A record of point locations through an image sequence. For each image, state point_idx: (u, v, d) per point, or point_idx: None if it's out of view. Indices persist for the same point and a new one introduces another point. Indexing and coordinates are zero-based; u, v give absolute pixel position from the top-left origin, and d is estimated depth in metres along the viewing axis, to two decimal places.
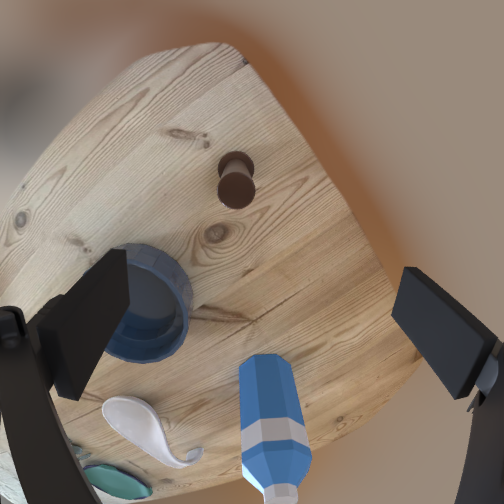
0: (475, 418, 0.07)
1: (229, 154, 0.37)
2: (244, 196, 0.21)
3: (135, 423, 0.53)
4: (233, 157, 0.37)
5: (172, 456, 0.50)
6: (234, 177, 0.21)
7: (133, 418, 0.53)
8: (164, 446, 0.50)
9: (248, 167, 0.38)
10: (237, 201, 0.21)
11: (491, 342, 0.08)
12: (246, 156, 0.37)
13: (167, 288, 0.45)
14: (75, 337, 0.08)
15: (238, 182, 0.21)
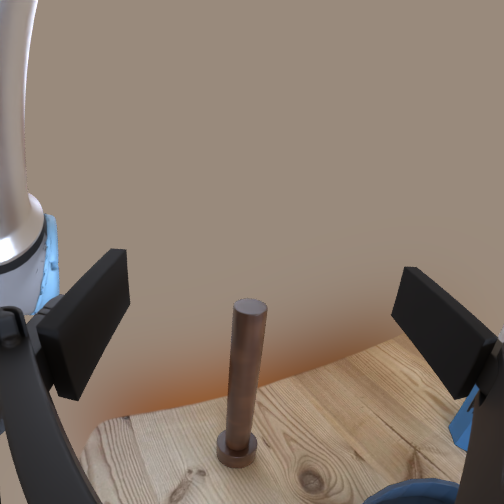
0: (475, 419, 0.07)
1: (219, 443, 0.29)
2: (256, 303, 0.25)
3: None
4: (223, 441, 0.30)
5: None
6: (238, 304, 0.24)
7: None
8: None
9: None
10: (260, 306, 0.24)
11: (491, 342, 0.08)
12: (225, 431, 0.31)
13: None
14: (75, 338, 0.08)
15: (243, 303, 0.24)
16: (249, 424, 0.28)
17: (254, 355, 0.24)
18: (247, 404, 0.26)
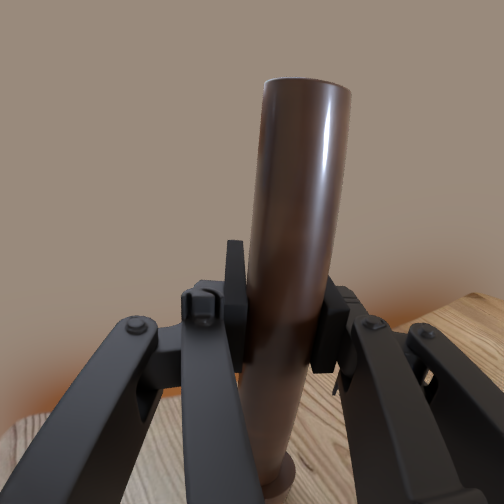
0: (345, 407, 0.08)
1: None
2: None
3: None
4: None
5: None
6: None
7: None
8: None
9: None
10: None
11: (341, 313, 0.10)
12: None
13: None
14: None
15: None
16: (287, 434, 0.12)
17: (323, 224, 0.09)
18: (291, 384, 0.10)
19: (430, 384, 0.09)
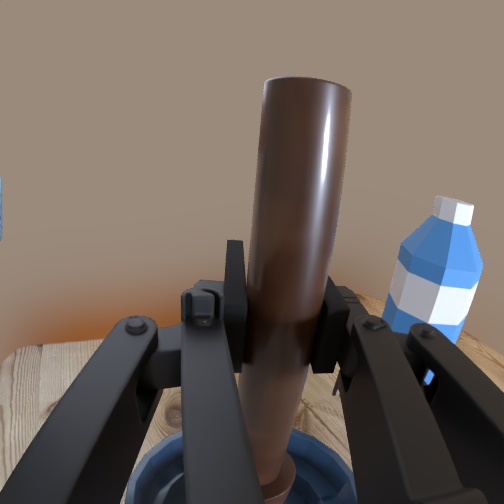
0: (346, 407, 0.08)
1: None
2: None
3: None
4: None
5: None
6: None
7: None
8: None
9: None
10: None
11: (341, 313, 0.10)
12: None
13: None
14: None
15: None
16: (288, 434, 0.12)
17: (324, 223, 0.09)
18: (291, 384, 0.10)
19: (430, 384, 0.09)
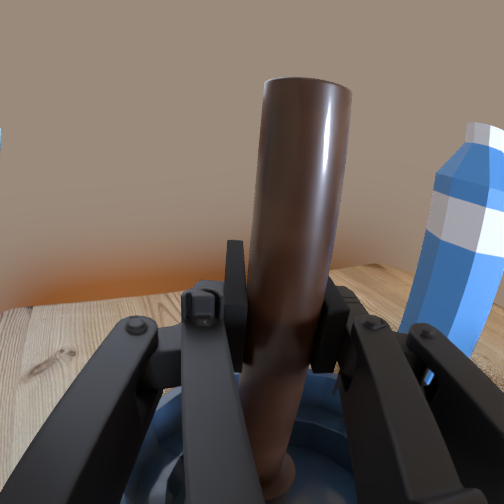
0: (345, 407, 0.08)
1: None
2: None
3: None
4: None
5: None
6: None
7: None
8: None
9: None
10: None
11: (341, 313, 0.10)
12: None
13: None
14: None
15: None
16: (288, 434, 0.12)
17: (324, 224, 0.09)
18: (291, 384, 0.10)
19: (430, 384, 0.09)
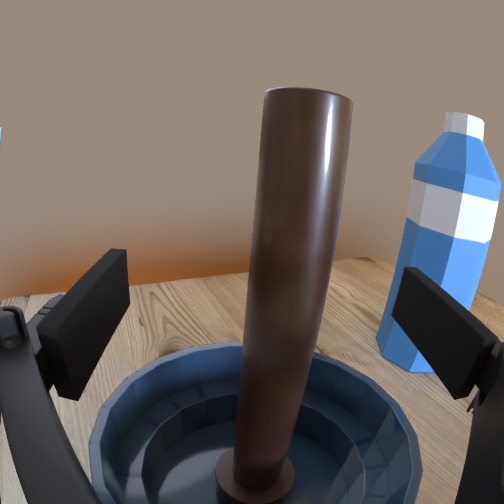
0: (475, 419, 0.07)
1: (219, 476, 0.14)
2: None
3: None
4: (228, 471, 0.14)
5: None
6: None
7: None
8: None
9: None
10: None
11: (491, 342, 0.08)
12: (231, 450, 0.16)
13: None
14: (75, 338, 0.08)
15: None
16: (288, 439, 0.12)
17: (324, 235, 0.09)
18: (290, 391, 0.10)
19: None
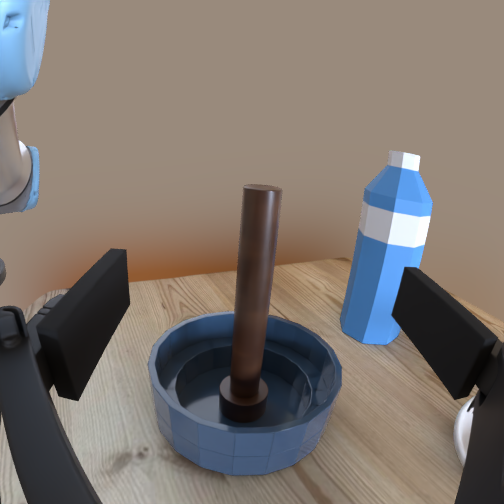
0: (475, 419, 0.07)
1: (222, 390, 0.26)
2: (269, 186, 0.21)
3: None
4: (227, 387, 0.27)
5: None
6: (249, 185, 0.21)
7: None
8: None
9: None
10: (274, 188, 0.21)
11: (491, 342, 0.08)
12: (229, 376, 0.28)
13: None
14: (75, 338, 0.08)
15: (254, 185, 0.21)
16: (260, 357, 0.25)
17: (267, 248, 0.21)
18: (258, 323, 0.23)
19: None
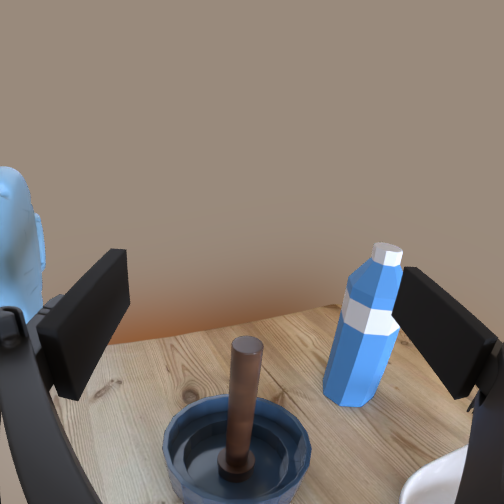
0: (475, 419, 0.07)
1: (219, 460, 0.31)
2: (253, 341, 0.26)
3: None
4: (223, 458, 0.31)
5: None
6: (236, 343, 0.25)
7: None
8: None
9: None
10: (256, 345, 0.25)
11: (491, 342, 0.08)
12: (225, 448, 0.32)
13: None
14: (75, 338, 0.08)
15: (241, 342, 0.26)
16: (247, 444, 0.29)
17: (251, 387, 0.26)
18: (245, 428, 0.27)
19: None
